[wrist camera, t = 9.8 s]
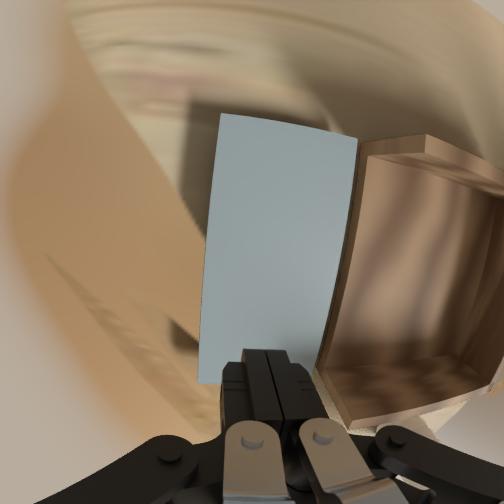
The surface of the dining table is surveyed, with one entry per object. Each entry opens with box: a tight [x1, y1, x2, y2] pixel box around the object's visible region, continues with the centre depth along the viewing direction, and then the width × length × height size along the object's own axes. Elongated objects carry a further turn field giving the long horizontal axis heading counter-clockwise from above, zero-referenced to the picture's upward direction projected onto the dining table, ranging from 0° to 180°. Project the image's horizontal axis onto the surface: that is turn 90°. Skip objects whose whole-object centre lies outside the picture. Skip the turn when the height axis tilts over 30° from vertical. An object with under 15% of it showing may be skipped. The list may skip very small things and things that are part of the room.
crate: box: [317, 134, 504, 430], centre depth 23 cm, size 20×22×9 cm
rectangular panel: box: [198, 113, 358, 384], centre depth 23 cm, size 2×22×10 cm
